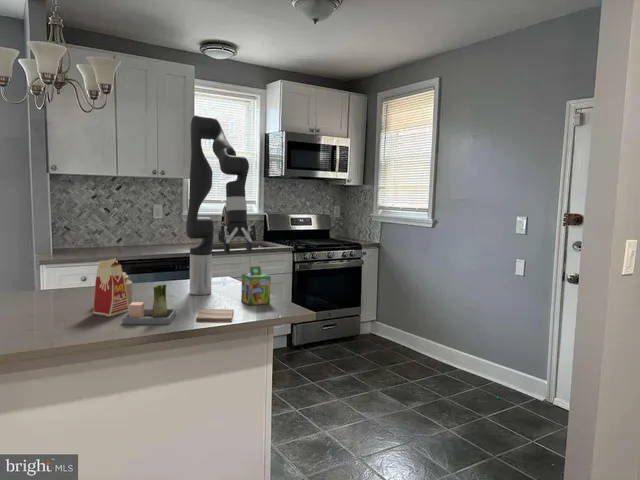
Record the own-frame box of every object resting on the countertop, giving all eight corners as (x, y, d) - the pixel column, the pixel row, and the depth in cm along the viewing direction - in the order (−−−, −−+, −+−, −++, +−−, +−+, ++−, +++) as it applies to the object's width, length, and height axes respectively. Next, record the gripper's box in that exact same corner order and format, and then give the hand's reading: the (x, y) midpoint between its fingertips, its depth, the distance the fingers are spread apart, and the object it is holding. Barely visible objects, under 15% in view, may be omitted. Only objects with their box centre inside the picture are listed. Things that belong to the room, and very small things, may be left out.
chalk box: (249, 306, 186) (250, 269, 184) (240, 301, 193) (241, 265, 192) (270, 303, 191) (271, 268, 189) (260, 299, 198) (261, 264, 197)
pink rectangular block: (132, 319, 162) (132, 302, 161) (144, 319, 162) (144, 302, 162) (129, 322, 158) (128, 305, 157) (141, 322, 159) (141, 305, 158)
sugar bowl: (97, 299, 186) (97, 262, 185) (127, 297, 192) (127, 261, 191) (103, 308, 174) (103, 268, 172) (135, 305, 180) (134, 267, 178)
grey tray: (132, 314, 168) (132, 308, 167) (175, 314, 170) (175, 309, 169) (122, 323, 156) (122, 318, 156) (169, 324, 158) (169, 318, 158)
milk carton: (129, 310, 172) (129, 256, 170) (110, 316, 164) (110, 260, 162) (109, 307, 175) (109, 254, 173) (90, 313, 167) (89, 258, 165)
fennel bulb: (164, 315, 168) (165, 282, 167) (170, 318, 164) (170, 285, 163) (148, 318, 164) (148, 284, 163) (154, 321, 160) (154, 286, 159)
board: (200, 312, 174) (200, 309, 174) (233, 312, 175) (233, 309, 175) (196, 321, 162) (196, 318, 162) (231, 321, 163) (231, 318, 163)
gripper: (249, 210, 181) (250, 252, 181) (214, 210, 172) (216, 254, 172) (258, 209, 175) (260, 252, 175) (222, 208, 166) (224, 254, 166)
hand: (238, 253), depth 174 cm, fingers open, 8 cm apart
